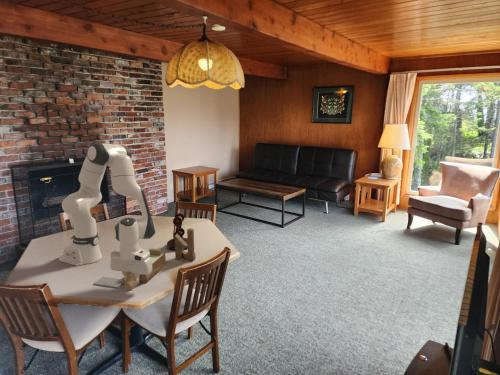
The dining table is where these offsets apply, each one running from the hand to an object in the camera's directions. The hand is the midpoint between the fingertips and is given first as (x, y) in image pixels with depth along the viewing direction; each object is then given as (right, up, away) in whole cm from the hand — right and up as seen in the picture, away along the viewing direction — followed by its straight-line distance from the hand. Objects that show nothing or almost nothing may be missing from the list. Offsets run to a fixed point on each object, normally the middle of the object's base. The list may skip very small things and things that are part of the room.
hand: (131, 280), depth 165 cm
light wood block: (0, -3, +1) cm, 3 cm away
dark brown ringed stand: (+13, +8, +48) cm, 51 cm away
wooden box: (+3, 0, +14) cm, 15 cm away
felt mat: (-12, -2, +3) cm, 12 cm away
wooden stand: (+20, +3, +31) cm, 37 cm away
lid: (+3, +5, +13) cm, 15 cm away
